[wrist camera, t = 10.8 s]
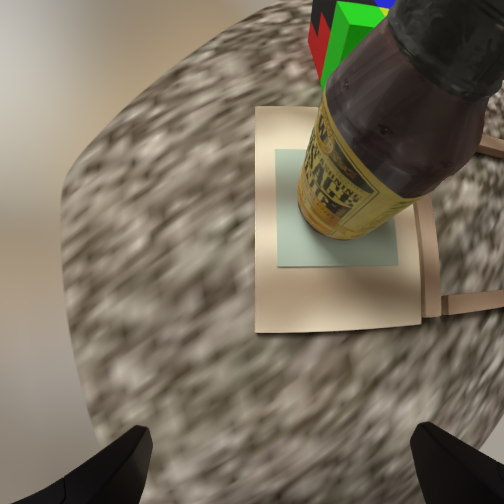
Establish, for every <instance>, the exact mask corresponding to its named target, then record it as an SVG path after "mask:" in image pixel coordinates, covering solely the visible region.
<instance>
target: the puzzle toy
mask: <svg viewBox="0 0 504 504" xmlns="http://www.w3.org/2000/svg"><path fill="white" fill-rule="evenodd" d="M395 1H396V0H313V5H312V13H311V21H310V29H309V37H308V44H309V47H310V50H311V53H312V56H313V59H314V63H315V66H316V69H317V73H318V76H319V80H320V83H321V87H322V91H324V88H325V85H326V82H327V79H328V77H329V76H330V74H331V73H332V72H333V71H334V70H335V69H336V68H337V67H338V66H339V65H340V64H341V63H342V61H343V60H344V59H345V58H346V57H347V56H348V55H349V54H350V53H351V52H352V51H353V50H354V48H355V47H356V46H357V45H358V44H359V43H360V42H361V41H362V40H363V39H364V38H365V37H366V36H367V35H368V34H369V33H370V32H371V31H372V30H373V29H374V28H375V27H376V26H377V25H378V24H379V23H380V22H381V21H382V20H383V19H384V18H385V17H386V16H387V14H388V11H389V9H390V8H391V7H392V6H393V5H394V3H395Z"/></svg>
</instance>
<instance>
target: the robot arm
mask: <svg viewBox="0 0 504 504" xmlns="http://www.w3.org/2000/svg"><path fill="white" fill-rule="evenodd" d="M410 446H411V450H412V455H413V459H414V464H415V469H416V473H417V477H418V480H419V483H420V486H421V489H422V492H423V496H424V499H425V502H426V504H504V465H503V464H501V463H500V462H497V461H496V460H494V459H492V458H490V457H489V456H487V455H485V454H483V453H482V452H480V451H478V450H476V449H475V448H473V447H471V446H470V445H468V444H466V443H464V442H463V441H461V440H459V439H458V438H456V437H454V436H453V435H451V434H449V433H448V432H446V431H444V430H443V429H441V428H439V427H438V426H436V425H434V424H433V423H431V422H428V421H427V422H423V423H419V424H418V425H417V427H416V429H415V431H414V433H413V435H412V437H411V439H410ZM152 449H153V442H152V438H151V435H150V431H149V428H148V427H145V426H140V425H135V426H134V427H132V428H131V429H130V430H128V431H127V432H126V433H124V434H123V435H122V436H120V437H119V438H118V439H116V440H115V441H114V442H112V443H111V444H109V445H108V446H107V447H105V448H104V449H103V450H101V451H100V452H99V453H97V454H96V455H94V456H93V457H92V458H90V459H89V460H87V461H86V462H84V463H83V464H82V465H80V466H79V467H77V468H76V469H74V470H73V471H71V472H70V473H69V474H67V475H65V476H64V478H61V479H59V480H58V481H56V482H55V483H53V484H51V485H49V486H48V487H46V488H45V489H43V490H40V491H39V492H37V493H35V494H32V495H30V496H28V497H26V498H23V499H21V500H19V501H16V502H14V503H12V504H139V502H140V499H141V496H142V493H143V490H144V487H145V483H146V478H147V473H148V468H149V463H150V458H151V453H152Z"/></svg>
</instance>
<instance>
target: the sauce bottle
mask: <svg viewBox="0 0 504 504" xmlns="http://www.w3.org/2000/svg"><path fill="white" fill-rule="evenodd" d="M503 80H504V0H396V1H395V3H394V5H393V6H392V7H391V8H390V9H389V11H388V14H387V16H386V17H385V18H384V19H383V20H382V21H381V22H380V23H379V24H378V25H377V26H376V27H375V28H374V29H373V30H372V31H371V32H370V33H369V34H368V35H367V36H366V37H365V38H364V39H363V40H362V41H361V42H360V43H359V44H358V45H357V46H356V47H355V48H354V50H353V51H352V52H351V53H350V54H349V55H348V56H347V57H346V58H345V59H344V60H343V61H342V63H341V64H340V65H339V66H338V67H337V68H336V69H335V70H334V71H333V72H332V73H331V74H330V76H329V77H328V79H327V82H326V85H325V88H324V91H323V95H322V97H321V102H320V106H319V109H318V114H317V116H316V121H315V124H314V127H313V130H312V134H311V137H310V141H309V145H308V147H307V150H306V156H305V159H304V163H303V166H302V170H301V173H300V177H299V180H298V185H297V197H298V207H299V209H300V212H301V213H302V215H303V217H304V219H305V220H306V222H307V223H308V224H309V225H310V227H311V228H312V229H313V230H314V232H316V233H319V234H321V235H323V236H325V237H328V238H331V239H334V240H341V241H347V240H351V239H355V238H359V237H362V236H364V235H366V234H368V233H369V232H371V231H372V230H374V229H375V228H377V227H378V226H380V225H381V224H383V223H384V222H386V221H387V220H389V219H390V218H392V217H393V216H395V215H397V214H398V213H400V212H401V211H403V210H404V209H406V208H407V207H409V206H410V205H412V204H413V203H415V202H417V201H418V200H420V199H421V198H423V197H424V196H426V195H427V194H429V193H430V192H432V191H433V190H434V189H435V188H436V187H437V186H438V185H439V184H440V183H441V182H442V181H443V180H445V179H446V178H447V177H449V176H451V175H454V174H455V173H456V172H457V171H458V170H459V169H461V168H462V167H463V166H464V165H465V164H466V163H467V162H468V161H469V160H470V158H471V157H472V156H473V155H474V153H475V151H476V149H477V148H478V146H479V144H480V142H481V139H482V134H483V128H484V116H485V111H486V108H487V104H488V101H489V98H490V97H491V96H492V95H493V94H495V93H497V92H498V91H499V89H500V88H501V87H502V81H503Z"/></svg>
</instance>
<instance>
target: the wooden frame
mask: <svg viewBox="0 0 504 504" xmlns="http://www.w3.org/2000/svg"><path fill="white" fill-rule="evenodd" d="M318 109H319V108H318V107H294V106H255V333H285V332H322V331H343V330H360V329H374V328H386V327H398V326H408V325H417V324H421V317H422V318H427V317H436V316H441V315H452V314H460V313H467V312H474V311H481V310H487V309H493V308H499V307H504V290H496V291H487V292H478V293H468V294H458V295H447V296H441V283H440V266H439V254H438V244H437V235H436V227H435V220H434V213H433V207H432V201H431V195H430V193H429V194H427V195H426V196H424V197H423V198H421V199H420V200H418V201H417V202H415V203H413V204H412V205H410V206H409V207H407V208H406V209H404V210H403V211H401V212H400V213H398V214H397V215H395V216H393V217H392V218H390V219H389V220H387V221H386V222H384V223H383V224H381V225H380V226H378V227H377V228H375V229H374V230H372V231H371V232H369V233H368V234H366V235H364V236H362V237H359V238H355V239H351V240H347V241H341V240H334V239H331V238H328V237H325V236H323V235H321V234H319V233H316V232H314V230H313V229H312V228H311V227H310V225H309V224H308V223H307V222H306V220H305V219H304V217H303V215H302V213H301V212H300V209H299V207H298V197H297V185H298V180H299V177H300V173H301V170H302V166H303V163H304V159H305V156H306V150H307V147H308V145H309V141H310V137H311V134H312V130H313V127H314V124H315V121H316V116H317V114H318ZM475 152H478V153H482V154H486V155H490V156H494V157H498V158H502V159H503V158H504V140H501V139H498V138H494V137H491V136H488V135H484V134H482V139H481V142H480V144H479V146H478V148H477V149H476V151H475Z"/></svg>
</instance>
